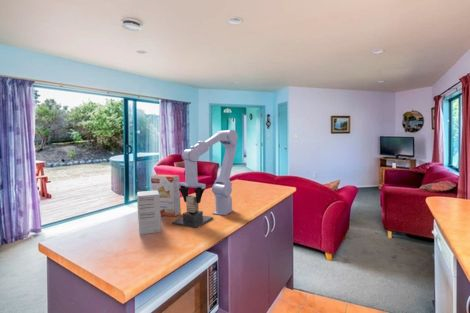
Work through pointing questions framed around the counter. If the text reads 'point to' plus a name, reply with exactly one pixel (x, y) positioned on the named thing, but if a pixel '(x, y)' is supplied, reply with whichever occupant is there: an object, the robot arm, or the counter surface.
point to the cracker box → (167, 193)
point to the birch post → (191, 203)
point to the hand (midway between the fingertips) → (192, 202)
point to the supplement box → (149, 212)
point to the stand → (192, 219)
